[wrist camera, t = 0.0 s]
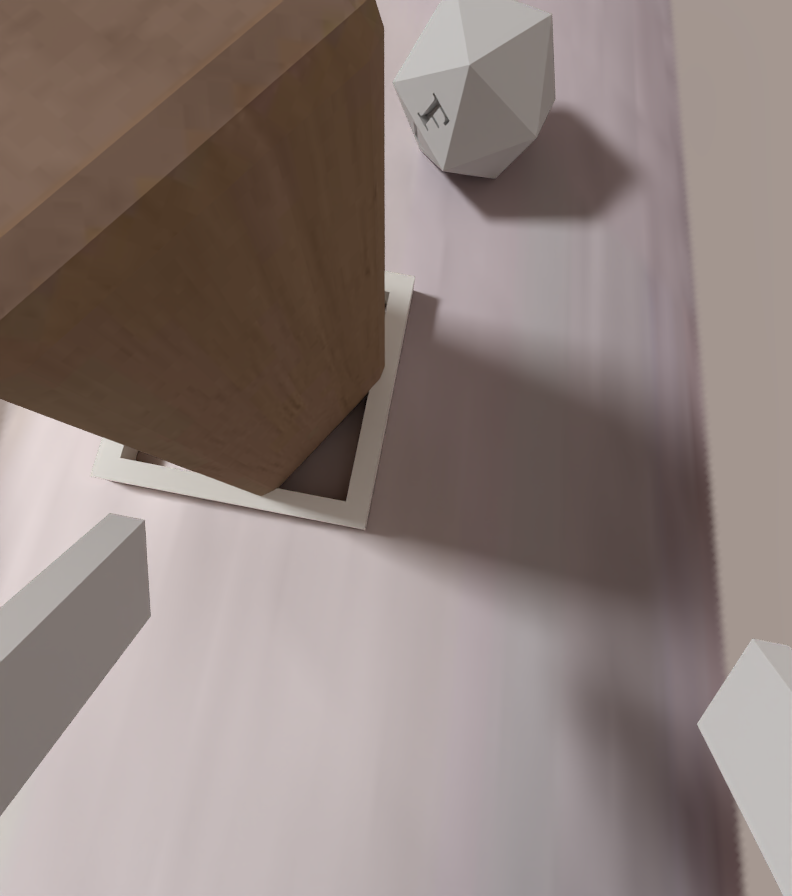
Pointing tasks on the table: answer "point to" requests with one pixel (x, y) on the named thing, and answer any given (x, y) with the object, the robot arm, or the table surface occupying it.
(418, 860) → the table surface
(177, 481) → the base frame
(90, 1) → the wooden block
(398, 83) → the die
